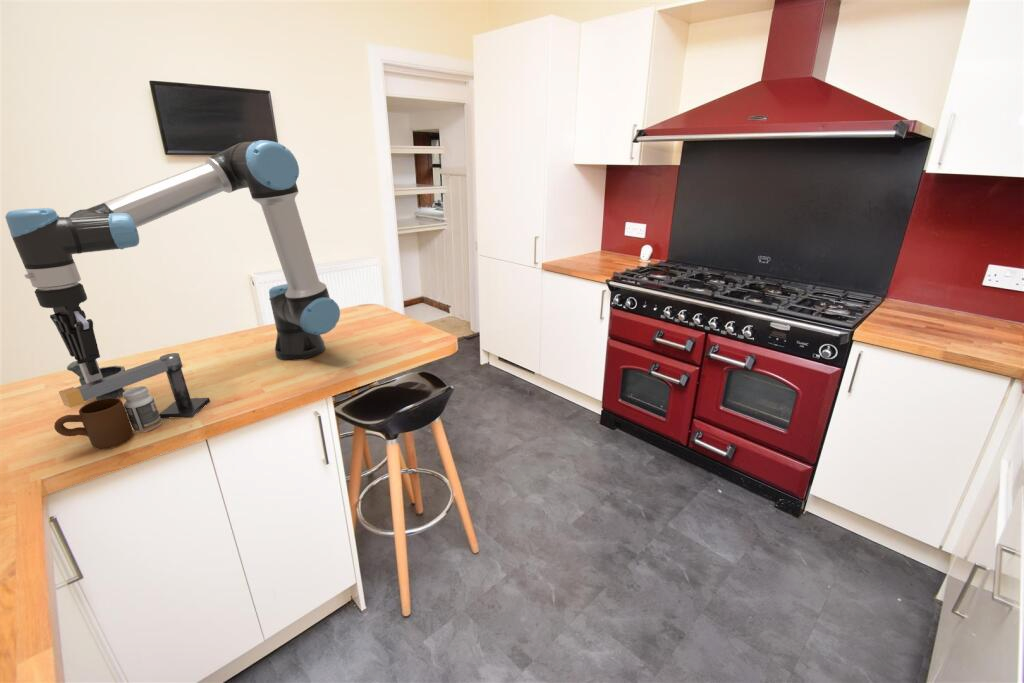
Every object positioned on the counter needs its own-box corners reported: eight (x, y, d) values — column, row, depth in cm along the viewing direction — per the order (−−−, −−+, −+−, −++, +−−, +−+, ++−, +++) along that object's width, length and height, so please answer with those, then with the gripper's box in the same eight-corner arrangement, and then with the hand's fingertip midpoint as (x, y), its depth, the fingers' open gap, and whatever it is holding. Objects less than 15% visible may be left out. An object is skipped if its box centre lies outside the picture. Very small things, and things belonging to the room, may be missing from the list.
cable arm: (176, 363, 118) (173, 352, 117) (186, 366, 117) (182, 354, 115) (62, 404, 99) (57, 391, 98) (72, 408, 97) (66, 395, 96)
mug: (67, 463, 99) (50, 425, 96) (66, 448, 105) (50, 412, 101) (136, 441, 107) (123, 405, 104) (132, 428, 112) (119, 393, 109)
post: (210, 401, 124) (199, 362, 120) (193, 417, 117) (180, 375, 112) (179, 402, 124) (166, 363, 119) (160, 418, 116) (146, 376, 112)
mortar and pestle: (124, 384, 134) (110, 346, 130) (139, 392, 129) (125, 353, 125) (75, 401, 125) (58, 360, 121) (88, 410, 121) (71, 368, 116)
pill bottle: (164, 418, 116) (152, 383, 113) (158, 430, 111) (146, 393, 108) (137, 423, 114) (124, 387, 111) (130, 435, 109) (116, 398, 106)
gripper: (20, 286, 97) (62, 387, 106) (49, 293, 91) (91, 399, 100) (65, 278, 103) (101, 374, 112) (95, 284, 97) (130, 385, 106)
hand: (96, 386), depth 106 cm, fingers closed
